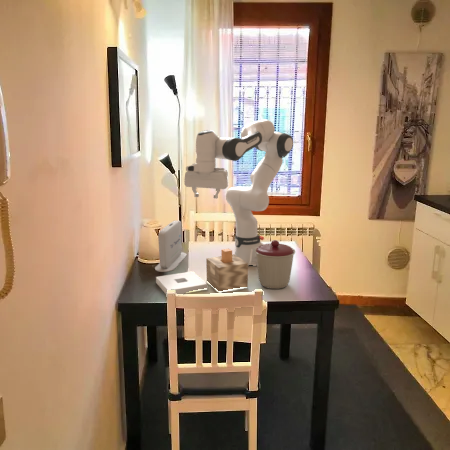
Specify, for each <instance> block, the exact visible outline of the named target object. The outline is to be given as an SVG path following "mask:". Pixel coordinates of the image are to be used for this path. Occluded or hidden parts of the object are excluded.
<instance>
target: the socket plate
mask: <svg viewBox="0 0 450 450" xmlns="http://www.w3.org/2000/svg"><path fill="white" fill-rule="evenodd" d="M155 283H156V284H157V286H158V287H159V288H160V289H161V290H162V292H164V294H165V295H166V292H167V290H171V289H174V290H176V293H177V294H183V295H185V294H184V293H186V292H189V291H193V290H198V289H204V288H207V289H208V284H207V281H205V280H204V279H202V278H201V277H200V276H199V275H197V273H196V272H194V271H193V270H191V271H185V272H179V273H172V274H166V275H160V276H155Z"/></svg>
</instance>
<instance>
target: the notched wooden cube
mask: <svg viewBox="0 0 450 450" xmlns="http://www.w3.org/2000/svg"><path fill="white" fill-rule="evenodd" d="M205 263H206V282H207V281H208V282H209V283H210V284H211V285H212V286H213V287H214V288H216V289H217V290H218V291H223V290H228V289H233V288H240V287H248V288H249V265H248V263H247V262H245V261H244V260H242V259H241V258H239V257H237V256H236V255H235V253H234V254H233V253H232V262H229V263H223V262H222V256H221V255H220V256H213V257H208V258H207V257H206V262H205Z"/></svg>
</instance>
